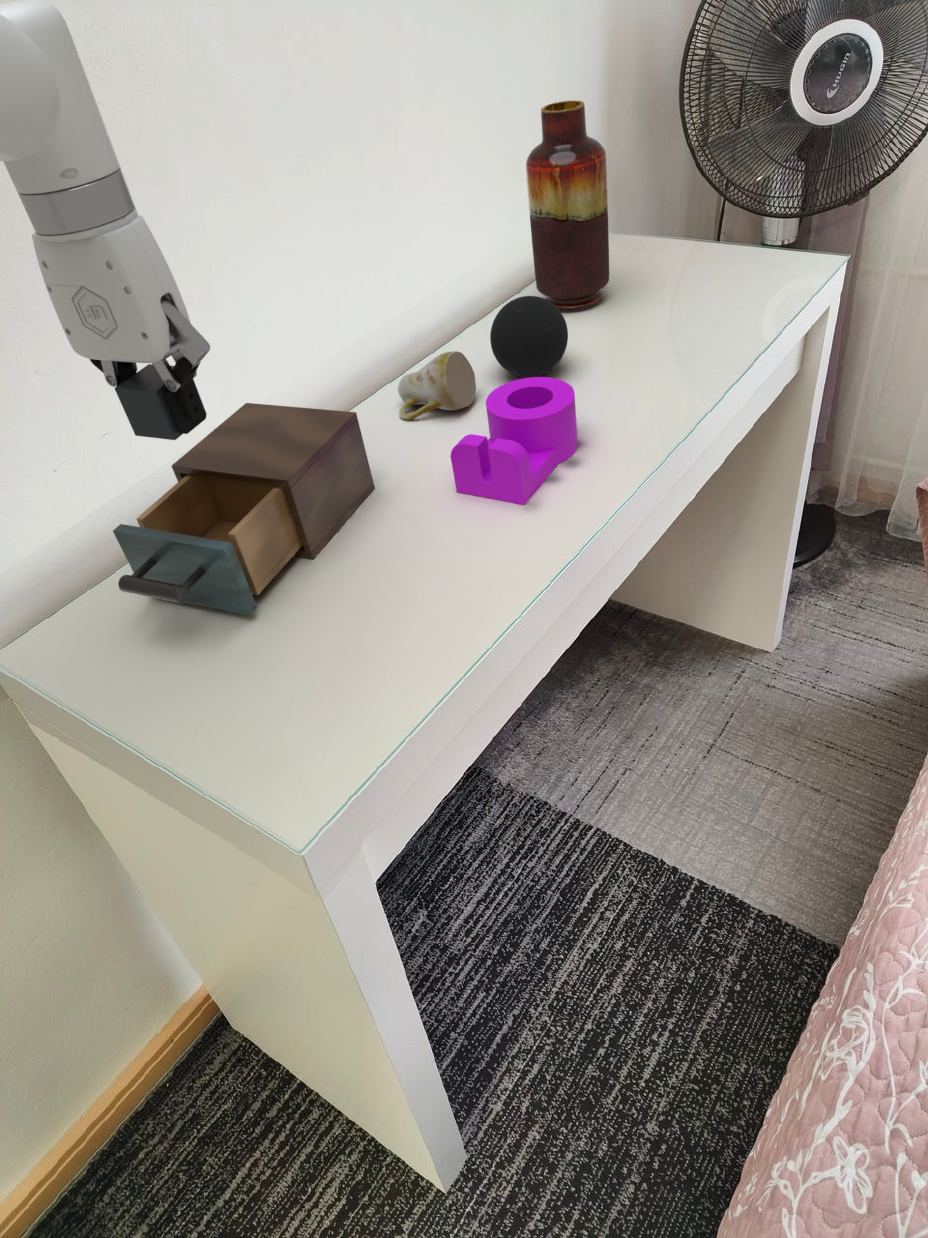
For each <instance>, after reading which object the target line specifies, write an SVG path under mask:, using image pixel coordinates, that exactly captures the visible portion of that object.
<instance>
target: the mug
mask: <svg viewBox="0 0 928 1238" xmlns="http://www.w3.org/2000/svg"><path fill="white" fill-rule="evenodd" d="M476 382H477V381H476V374H475V372H474V369H473V367H472V365H471V363H470V361H469V359H468V358H467V357H466V356H465V354H463V353H462V352H460V351H457V350H455V351H446V352H443V353H440V354H438V355H437V356H435V357H434V358H432V359H430V361H428V362H427V363H426V364H425V365H423V367H421V369H419V370H417V371H415V372H410V373H408V374H405V375H403V376H402V377H401V379H400V380H399V383H398V386H397V392H398V395H399V397H400V399H401V400H402V401H403V403H404V404H403V405H402V406H400V409H399V411H398V413H399V418H401V419H402V420H409V421H412V420H415V419H417V418H418V417H421V416H423V415H425V414H426V413H428V412H431V411H433V410H435V409H439V410H443V411H459V410H462V409H464V408H467V407H470V406H471V405H472V404H473V402H474V400H475V396H476V392H477V391H476V390H477V384H476ZM418 405H423V406H422V407H420V408H418V409H417V410H415V411H414V412H411V413H407V410H408V409H409V407H411V406H418Z"/></svg>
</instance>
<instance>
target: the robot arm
mask: <svg viewBox="0 0 928 1238" xmlns="http://www.w3.org/2000/svg"><path fill="white" fill-rule="evenodd" d="M95 98H96V97H95V95H94V92H93V90H92V87H91V85H90V82H89V79H88V76H87V74H86V71H85V68H84V66H83V64H82V61H81V58H80V55H79V52H78V50H77V47H76V44H75V41H74V38H73V37H72V33H71V31H70V29H69V26H68V24H67V22H66V20H65V18H64V17H63V15H62V13H61V12H60V11H59V10H58V9H57V8H56V7H55V6H54V5H53V4H52V3H50V2H48V1H46V0H18V1H11V2H5V3H0V162H3V164H4V167H5V169H6V171H7V173H8V175H9V178H10V180H11V182H12V184H13V186H14V188H15V191H16V192H17V194H18V197H19V199H20V201H21V203H22V206H23V208H24V210H25V213H26V214H27V217H28V219H29V221H30V223H31V225H32V227H33V230H34V232H33V233H32V235H31V238H32V243H33V247H34V252H35V255H36V260H37V263H38V266H39V269H40V274H41V276H42V279H43V282H44V284H45V288H46V290H47V294H48V296H49V298H50V301H51V304H52V306H53V308H54V311H55V313H56V316H57V319H58V321H59V323H60V325H61V327H62V330H63V332H64V334H65V337H66V338H67V341H68V343H69V345H70V347H71V348H72V350H73V352H74V353H76V354H77V355H78V356H80V357H82V358H85V359H88V360H89V362H90V363H91V364H92V365H93V366H95V367H96V369H98V370H99V371H100V372H101V373H102V374H103V376H104V379H105V382H106V383H107V384H108V386H111V387H112V388H115V387H117V386H118V385H120V384H121V383H123V382H124V381H125V380H127V379H128V378H130V377H131V376H133V375H134V374H135V373H137V372H138V365H137V363H138V364H153V366H154V367H155V369H156V371H157V372H158V374H159V376H160V377H161V379H162V380H163V382H164V384H165V385H166V387H167V388H168V390H167V391H165V392H164V395H165V398H166V401H167V403H168V406H169V408H170V410H171V413H172V415H173V418H174V420H175V423H176V425H177V428H178V430H179V432H180V433H182V435H188V434H189V433H190V432H192V431H193V430H194V429H195V428H197V427H198V426H199V425H200V424H202V423H203V422H204V421H205V420H206V419H207V415H206V414H207V411H206V409H205V410H204V408H205V406H204V403H203V401H202V402H201V400H202V398H201V395H200V393H199V394H198V392H199V390H198V388H196V387H197V385H196V382H195V380H194V381H193V379H194V378H196V377H197V375H198V372H197V371H198V369H199V366H200V364H201V361H203V359H204V358H205V357H206V356H207V355H208V353H209V352H210V350H211V345H210V343H209V342H208V340H207V339H205V337H204V336H203V335H202V334H201V333H200V332H199V331H198V330H197V329H196V328H195V326H193V324H192V323H191V320H190V316H189V313H188V310H187V307H186V304H185V302H184V299H183V297H182V294H181V292H180V289H179V287H178V284H177V282H176V279H175V278H174V275H173V272H172V271H171V269H170V268H171V267H170V266H169V264H168V261H167V260H166V257H165V256H164V254H163V252H162V250H161V247H160V246H159V244H158V241H157V240H156V238H155V236H154V235H153V232H152V231H151V229H150V227H149V225H148V224H147V222H146V220H145V218H144V216H142V215H139V214H138V211H137V208H136V204H135V202H134V199H133V197H132V194H131V192H130V188H129V186H128V183H127V181H126V178H125V176H124V173H123V170H122V167H121V165H120V164H121V163H120V162H119V160H118V157H117V154H116V152H115V149H114V146H113V143H112V141H111V138H110V135H109V133H108V129H107V127H106V124H105V122H104V120H103V117H102V115H101V111H100V108H99V106H98V104H97V103H98V102H97V100H96V99H95ZM169 357H172V359H173V361H174V362H175V364H174V365H173V366H174V368H173V370H172V368H171V366H172V365H171V364H170V363H169V361H168V358H169ZM194 382H195V383H194ZM195 385H196V386H195ZM197 390H198V391H197ZM199 395H200V396H199ZM200 398H201V399H200ZM202 403H203V404H202ZM203 406H204V407H203ZM205 411H206V412H205Z"/></svg>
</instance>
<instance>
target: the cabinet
mask: <svg viewBox="0 0 928 1238" xmlns="http://www.w3.org/2000/svg"><path fill="white" fill-rule="evenodd" d="M171 469H172V471H173V473H174V476H175V479H176V481H177V483H178V482H179V481H180V480H181V479H182V478H184V477H185V476H186V475H187V474H192V475H199V476H207V477H215V478H222V479H230V480H238V481H245V482H253V483H261V484H268V485H276V486H284V489H285V492H286V495H287V498H288V501H289V504H290V507H291V510H292V513H293V516H294V519H295V522H296V525H297V529H298V532H299V535H300V538H301V541H302V544H303V546H302V547H301V548H300V549H299V550H298V551H297V552H296V553H295V555H294V556H293V557H296V558H303V559H309V560H314V559H316V557H317V556H318V554H320V553H321V552H322V550H323V549H324V548H325V547H326V546H327V545H328V544H329V542H330V541H331V540H332V539H333V538H334V536H335V535H336V534H337V533H338V532H339V531H340V529H341V528H342V527H343V526H344V525H345V524H346V522H347V521H348V520H349V519H350V518H351V517H352V515H354V513H355V512H356V511H357V510H358V509H359V508H360V506H361V505H362V504H363V503H364V501H365V500H366V499H367V498H368V497H369V496H370V495H371V494H372V492H373V491H374V490H375V489H376V487H375V483H374V479H373V474H372V471H371V467H370V462H369V458H368V455H367V451H366V446H365V443H364V438H363V435H362V430H361V426H360V422H359V419H358V414H357V412H356V411H346V410H335V409H322V408H311V407H300V406H287V405H275V404H265V403H264V404H263V403H253V402H246V403H243V405H242V406H240V408H238V409H236V411H234V412H233V413H232V414H231V415H230V416H229V417H227V418H226V419H225V420H224V421H222V423H220V424H219V425H217V427H215V428H214V429H213V430H212V431H210V433H208V434H207V435H206V436H205V437H204V438H202V439H201V440H200V441H199V442H197V444H196V445H194V446H193V447H192V448H190V449H189V450H188V451H187V452H186V453H185V454H183V455H182V456H181V457H180V458H179V459H177V460H176V461H175V462H174V463H173V464H172V465H171Z"/></svg>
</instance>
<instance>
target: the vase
mask: <svg viewBox="0 0 928 1238" xmlns="http://www.w3.org/2000/svg"><path fill="white" fill-rule="evenodd" d="M585 108H586V107H585V102H584V101H582V100H563V101H562V100H561V101H558V102H557V101H556V102H552V103H549V104H547V105H546V104H545V105H544V106H542V107H541V109H540V123H541V124H540V125H541V142H540V143H539V144H537V145H536V146H534V148H533V149H532V150H531V151H530V153H529V154H528V156H527V158H526V160H525V173H526V186H527V187H526V188H527V198H528V199H527V200H528V211H529V212H528V213H529V222H530V223H529V225H530V234H531V235H530V236H531V245H532V246H531V247H532V257H533V267H534V278H535V285H536V290H537V291H538V292H539V293H540V294H541V295H544V296H545V297H544V299H546V300H548V301H550V302H551V303H553V304H554V305H555V306H556V307H557V308H558V309H559V310H560V312H561V313H577V312H582V311H586V310H590V309H592V308H595V307H597V306H599V305H600V304H601V303H602V302H603V300H604V292H603V289H604V288H605V287H606V286H607V285H608V283H609V282H610V243H609V242H610V241H609V239H610V238H609V237H610V236H609V203H608V170H607V153H606V149H605V148H604V146H603V144H601V143H600V142H599V141H598V140H597V139H596V138H593V137H591V136H588V133H587V122H586V110H585Z"/></svg>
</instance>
